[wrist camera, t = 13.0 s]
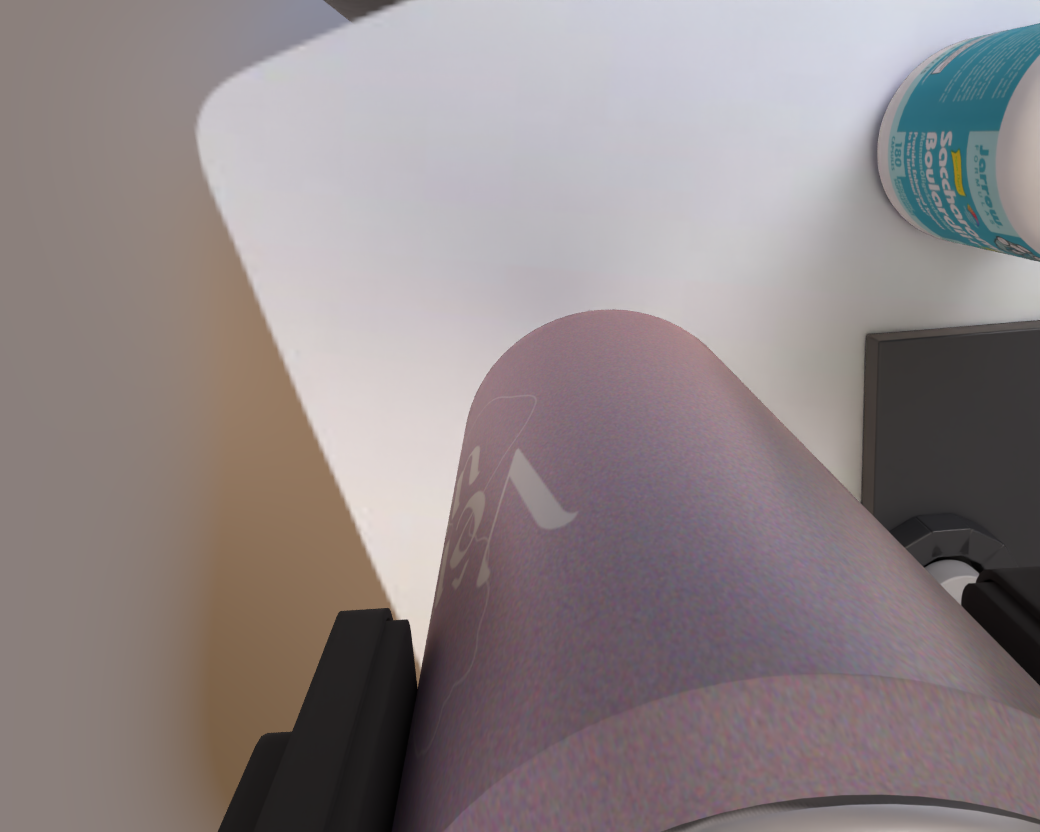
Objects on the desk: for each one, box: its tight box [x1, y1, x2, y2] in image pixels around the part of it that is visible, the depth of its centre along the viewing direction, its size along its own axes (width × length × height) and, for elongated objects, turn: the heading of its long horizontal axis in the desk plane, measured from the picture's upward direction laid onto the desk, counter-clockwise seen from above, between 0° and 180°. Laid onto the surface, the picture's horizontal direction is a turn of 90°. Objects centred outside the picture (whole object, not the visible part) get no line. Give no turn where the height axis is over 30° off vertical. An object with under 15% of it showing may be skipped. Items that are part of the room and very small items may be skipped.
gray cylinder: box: [925, 560, 979, 605], centre depth 36 cm, size 3×3×2 cm
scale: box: [862, 320, 1040, 574], centre depth 37 cm, size 14×11×3 cm
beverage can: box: [392, 310, 1040, 832], centre depth 12 cm, size 6×6×15 cm
